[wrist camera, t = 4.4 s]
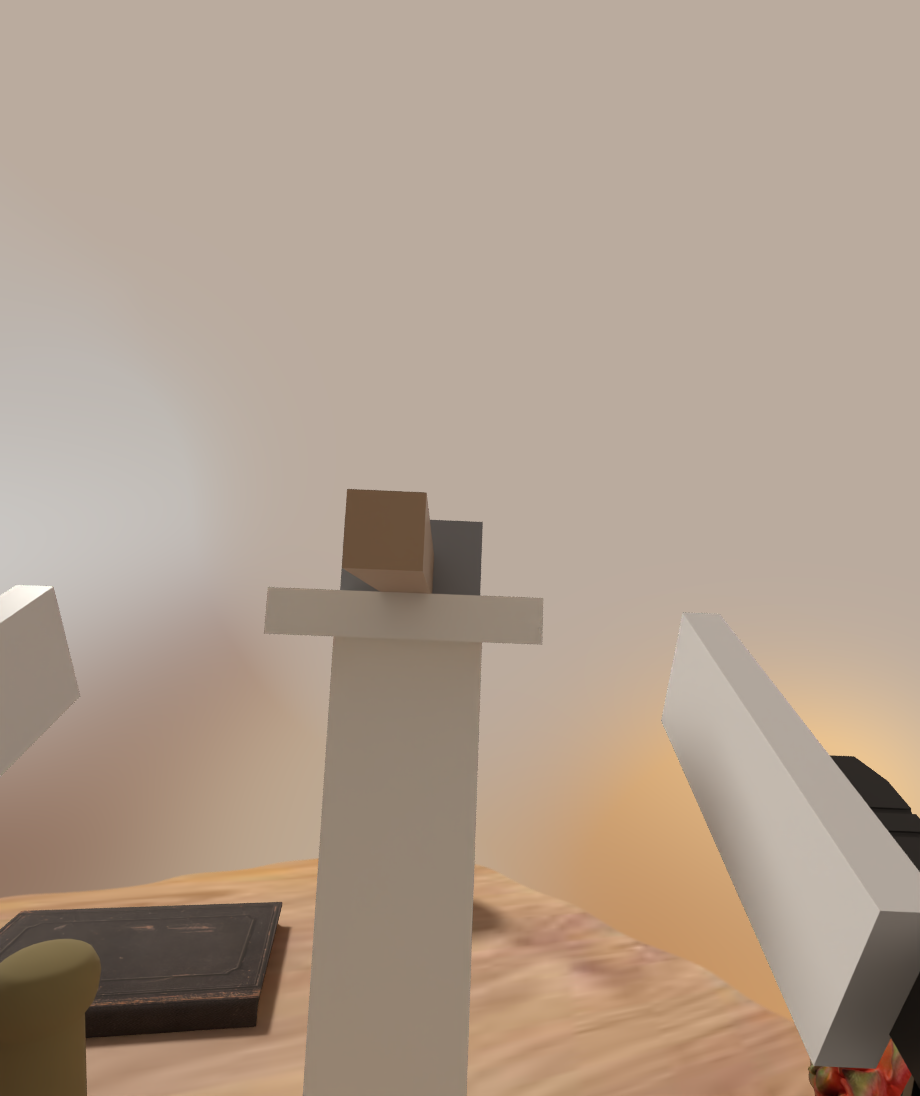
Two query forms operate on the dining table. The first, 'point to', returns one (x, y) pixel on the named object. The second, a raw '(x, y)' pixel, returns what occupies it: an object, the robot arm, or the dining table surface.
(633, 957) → the dining table surface
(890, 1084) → the dragon fruit
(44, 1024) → the cork
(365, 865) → the stand
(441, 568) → the brown and grey bar
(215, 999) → the hardcover book
